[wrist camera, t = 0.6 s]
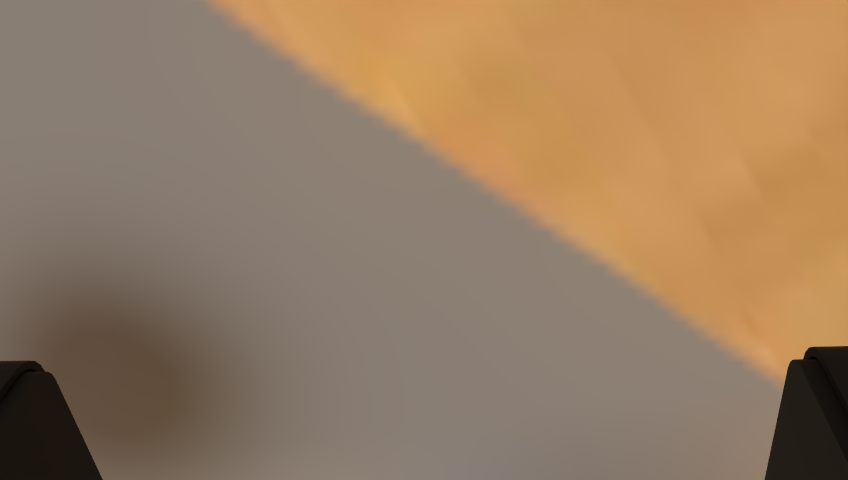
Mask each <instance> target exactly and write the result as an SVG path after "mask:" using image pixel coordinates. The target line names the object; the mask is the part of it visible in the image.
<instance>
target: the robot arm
mask: <svg viewBox="0 0 848 480" xmlns="http://www.w3.org/2000/svg"><path fill="white" fill-rule="evenodd" d="M0 480H103V479H102V477H101V475H100V473H99V471H98V469H97V467H96V465H95V462H94V460H93V458H92V456H91V454H90V452H89V450H88V448H87V445H86V443H85V442H84V439H83V437H82V435H81V433H80V431H79V428H78V426H77V424H76V422H75V420H74V418H73V416H72V414H71V411H70V409H69V407H68V405H67V403H66V401H65V399H64V397H63V394H62V392H61V390H60V388H59V386H58V384H57V382H56V380H55V378H54V376H53V375H52V374H51V373H49V372H45V371H44V369H43V368H42V366H41V365H40V364H38V363H37V362H35V361H0ZM765 480H848V346H836V347H810V348H808V350H807V351H806V352H805V355H804V358H803V359H800V360H792V361H791V362H790V364H789V367H788V370H787V375H786V380H785V385H784V390H783V394H782V399H781V404H780V409H779V414H778V418H777V423H776V429H775V433H774V438H773V442H772V447H771V452H770V458H769V462H768V467H767V471H766V476H765Z"/></svg>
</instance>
